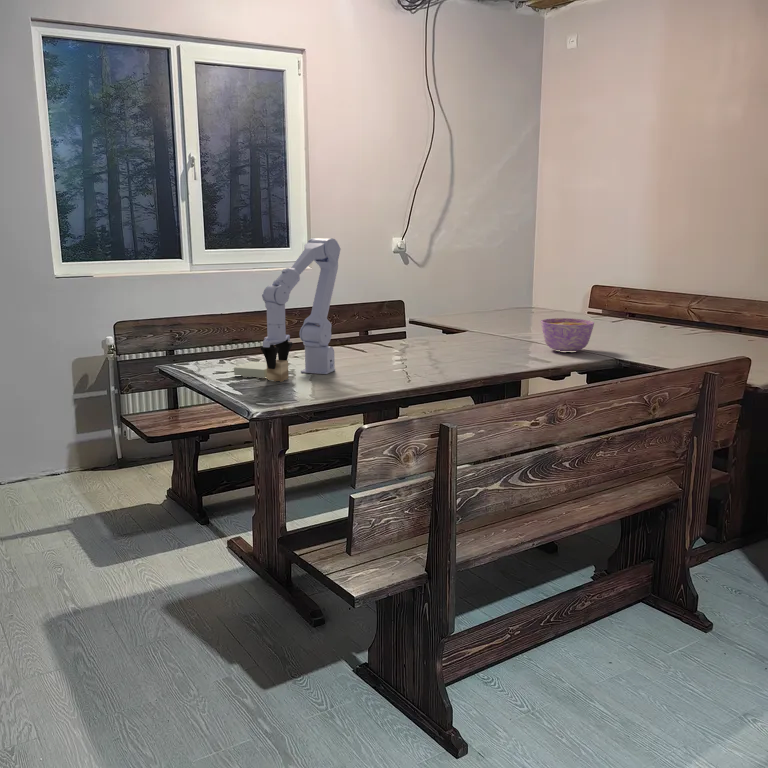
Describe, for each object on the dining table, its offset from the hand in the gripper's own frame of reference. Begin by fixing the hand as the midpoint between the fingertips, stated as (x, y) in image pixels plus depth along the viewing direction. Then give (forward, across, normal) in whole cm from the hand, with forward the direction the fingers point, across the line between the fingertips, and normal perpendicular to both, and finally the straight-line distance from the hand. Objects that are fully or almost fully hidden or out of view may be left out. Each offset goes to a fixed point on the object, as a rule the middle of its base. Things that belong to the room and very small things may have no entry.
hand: (277, 366), depth 244 cm
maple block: (+4, 0, 0) cm, 4 cm away
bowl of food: (+4, -85, +80) cm, 117 cm away
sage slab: (+4, -5, -10) cm, 12 cm away
